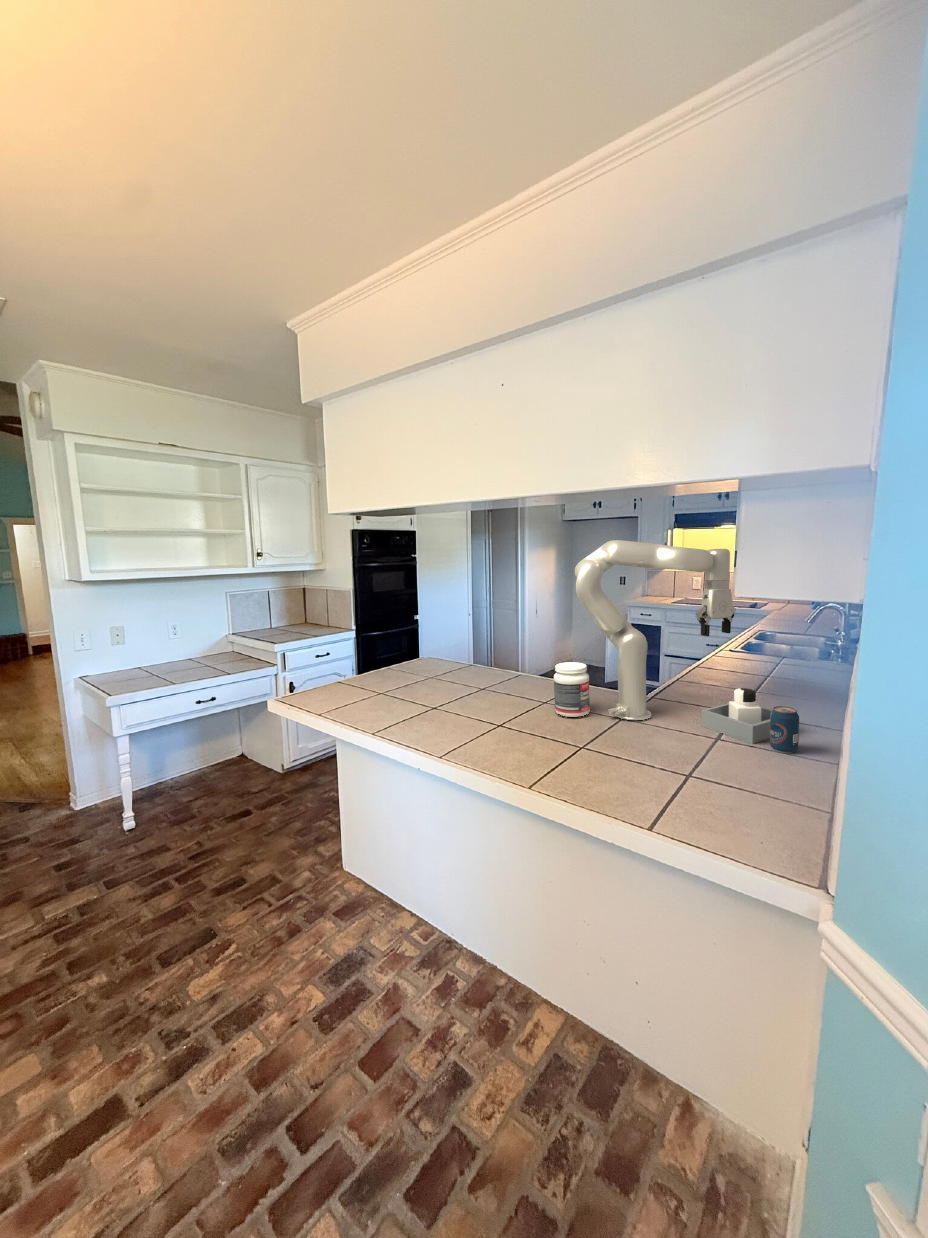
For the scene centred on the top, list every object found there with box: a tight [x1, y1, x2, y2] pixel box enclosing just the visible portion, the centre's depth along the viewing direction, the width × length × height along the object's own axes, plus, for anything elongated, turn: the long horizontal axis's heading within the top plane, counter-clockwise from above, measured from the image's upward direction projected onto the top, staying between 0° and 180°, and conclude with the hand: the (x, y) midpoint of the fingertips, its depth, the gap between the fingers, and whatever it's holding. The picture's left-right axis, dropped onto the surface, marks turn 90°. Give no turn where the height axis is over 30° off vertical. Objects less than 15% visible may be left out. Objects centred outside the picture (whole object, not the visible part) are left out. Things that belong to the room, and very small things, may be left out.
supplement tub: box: [553, 661, 591, 717], centre depth 182 cm, size 13×13×18 cm
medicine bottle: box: [728, 687, 762, 724], centre depth 158 cm, size 7×7×12 cm
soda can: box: [769, 705, 800, 754], centre depth 141 cm, size 7×7×12 cm
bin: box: [700, 702, 773, 745], centre depth 158 cm, size 18×18×6 cm
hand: (715, 634), depth 170 cm, fingers open, 9 cm apart
